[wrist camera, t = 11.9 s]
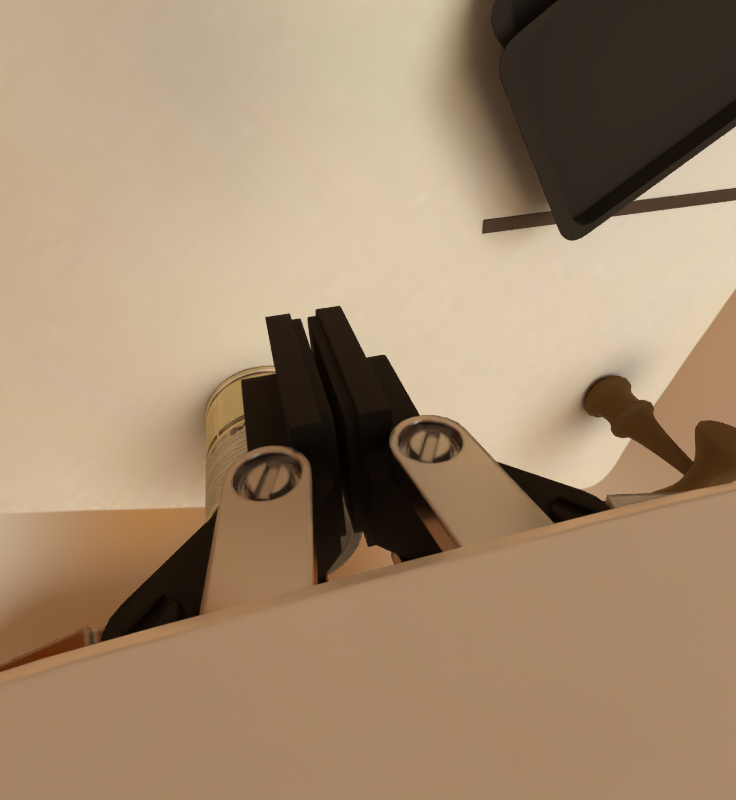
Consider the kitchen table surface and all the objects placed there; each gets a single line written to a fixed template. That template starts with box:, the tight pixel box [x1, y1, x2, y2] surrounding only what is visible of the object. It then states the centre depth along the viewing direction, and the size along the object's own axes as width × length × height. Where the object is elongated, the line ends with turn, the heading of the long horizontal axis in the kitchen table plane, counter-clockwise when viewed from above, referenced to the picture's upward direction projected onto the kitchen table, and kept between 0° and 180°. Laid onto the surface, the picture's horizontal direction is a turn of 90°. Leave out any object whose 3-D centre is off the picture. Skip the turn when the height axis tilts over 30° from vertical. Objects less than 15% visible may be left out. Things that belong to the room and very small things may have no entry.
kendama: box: [585, 376, 736, 493], centre depth 44 cm, size 6×10×20 cm, turn 164°
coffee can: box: [205, 367, 362, 575], centre depth 37 cm, size 10×10×14 cm
